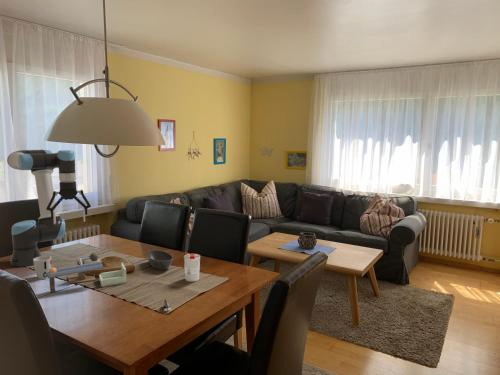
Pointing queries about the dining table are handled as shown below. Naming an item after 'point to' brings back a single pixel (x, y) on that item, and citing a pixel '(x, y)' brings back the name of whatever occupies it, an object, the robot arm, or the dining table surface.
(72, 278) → the stand
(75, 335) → the dining table surface
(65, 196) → the robot arm
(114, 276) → the box
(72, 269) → the lever
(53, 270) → the ball
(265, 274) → the dining table surface
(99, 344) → the dining table surface
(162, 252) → the bowl
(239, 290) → the dining table surface
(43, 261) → the cup
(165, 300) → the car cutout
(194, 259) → the white can
